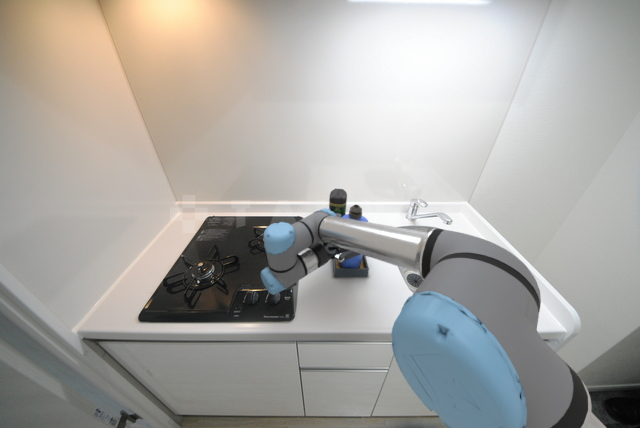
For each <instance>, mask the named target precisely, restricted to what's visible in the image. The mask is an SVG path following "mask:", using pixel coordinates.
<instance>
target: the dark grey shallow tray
mask: <svg viewBox="0 0 640 428" xmlns="http://www.w3.org/2000/svg"><path fill="white" fill-rule="evenodd" d="M338 250H339V248H338ZM332 265H333V277H334V278H368V277H369V272H370V268H369V264H368V261H367V256H365V255H362V261H361V265H360V267H359V268H342V267H341V266H340V265H339V263H338V260H336V259H332Z"/></svg>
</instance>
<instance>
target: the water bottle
mask: <svg viewBox="0 0 640 428" xmlns="http://www.w3.org/2000/svg"><path fill="white" fill-rule="evenodd" d="M342 218H347V219H353V220H358V221H364V222H369V220H368V218H366V217H365V216H364V215H363V208H362V207H361V206H360V205H359V204H354V205H352V206H350V207H349V210H348V213H347V214H345V215H344V216H343V217H342ZM343 253H344V252H343ZM341 254H342V253H341ZM338 255H339V254H338ZM361 261H362V254H361V255H358V256H356V257H353V258H351V259H348V260H345V261H344V262H343V263H342V264H339V265H340V266H341V267H342V268H359V267H360V265H361Z"/></svg>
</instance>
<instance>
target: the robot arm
mask: <svg viewBox="0 0 640 428" xmlns="http://www.w3.org/2000/svg"><path fill="white" fill-rule="evenodd" d="M263 245H264V246H263V247H264V250H265V254H266V259H267V266H266V267H264V269H262V270H261V271H260V279H261V282H262V283H263V286H264V287H265V289H266V290H267V292H268V293H269V294H271V295H273V296H274V295H277V294H279V293H281V292H282V291H284V290H287V289H288V288H290V287H291V286H292V285H295V284H296V283H297V282H299V281H300V280H303V279H304V278H305V277H306V276H308V275H311V273H313V272H314V271H316V270H318V269H319V268H322V267H323V266H325V265H326V264H328V262H329V261H330V260H333V259H336V260H338V263H339V264H342V263H343V262H344V261H345V260H348V259H351V258H353V257H356V256H358V255H361V254H362V255H365V256H366V257H369V258H371V259H374V260H378V261H380V262H383V263H386V264H390V265H392V266H396V267H398V268H402V269H405V270H408V271H411V272H414V273H417V274H419V276H420V278H421V279H422V282H421V283H420V284H419V286H418V287H417V288H416V290H415V291H414V292H413V293H412V295H411V296H408V298H406V300H405V302H404V303H403V305H402V307H401V310H400V313H399V314H398V315H397V317H396V319H395V320H394V323H393V325H392V329H391V349H392V353H393V357H394V359H395V362H396V364H397V366H398V368H399V370H400V372H401V374H402V376H403V378H404V379H405V381H406V383H407V385H408V386H409V387H410V389H411V390H412V391H413V393H414V394H415V395H416V397H417V398H418V399H419V400H420V401H421V403H422V404H423V405H424V406H425V407H426V409H428V410H429V411H430V412H434V413H435V414H437V416H438V417H439V419H440V422H442V423H443V424H444V425H445V426H446V427H447V428H607V426H606V425H604V424H603V422H602V421H600V419H599V418H598V417H597V416H596V415H595V414H594V413H593V411H592V409H593V408H592V407H593V406H592V399H591V395H590V393H589V389H588V388H587V386H586V384H585V383H584V381H583V380H582V378H581V376H580V375H579V374H578V373H577V372H576V371H575V370H574V369H573V368H572V367H571V366H570V365H569V364H568V363H567V362H566V361H565V360H564V359H563V358H562V357H561V356H560V355H559V354H558V353H557V352H556V351H555V350H554V349H553V348H552V347H551V346H550V345H549V344H548V343H547V342H546V341H545V340H544V339H543V338H542V337H541V335H540V334H539V331H538V323H539V316H540V312H541V305H542V297H541V290H540V287H539V285H538V281H537V279H536V277H535V276H534V274H533V273H532V272H531V270H530V269H529V268H528V266H527V265H526V264H525V263H524V262H523V261H522V260H521V259H519V258H518V257H517V256H516V255H515V254H514V253H512V252H511V251H509V250H507V249H506V248H504V247H502V246H500V245H498V244H497V243H494V242H492V241H490V240H488V239H484V238H482V237H478V236H475V235H471V234H468V233H464V232H459V231H453V230H449V229H444V228H443V229H441V228H435V227H434V228H432V229H431V230H429V231H428V232H427V231H420V230H414V229H408V228H403V227H398V226H392V225H387V224H381V223H375V222H370V221H368V222H364V221H358V220H353V219H347V218H341V217H337V216H336V215H335V213H334V212H333V211H331V210H330V209H329V208H328V207H324V208H321V209H319V210H316V211H314V212H312V213H311V214H309V215H307V216H305V217H304V218H301V219H300V220H298V221H296V222H294V223H292V224H291V223H289V222H285V221H279V222H278V223H277V222H273V223H271V224H269V225H268V226H267V227H266V228H265V230H264V231H263ZM338 248H339V250H338ZM343 252H344V253H343ZM341 253H342V254H341ZM338 254H339V255H338Z"/></svg>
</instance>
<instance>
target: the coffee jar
mask: <svg viewBox="0 0 640 428" xmlns="http://www.w3.org/2000/svg"><path fill="white" fill-rule="evenodd" d="M347 201H348V193H347V191H346V190H344V189H343V188H334V189H332V190H331V191H330V193H329V199H328V209H330V210H331V211H333V212H334V213H335V215H336V216H337V217H341V218H342V217H343V216H344V215H346V211H347Z"/></svg>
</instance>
